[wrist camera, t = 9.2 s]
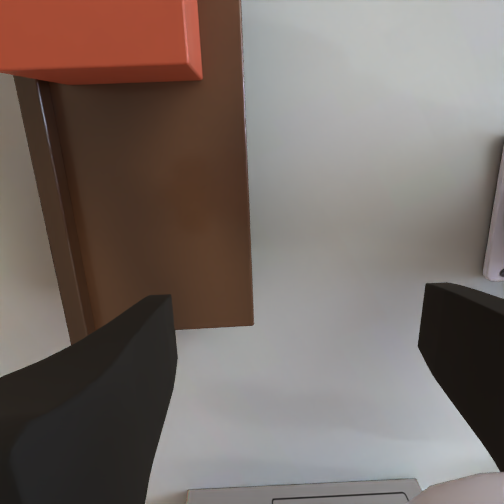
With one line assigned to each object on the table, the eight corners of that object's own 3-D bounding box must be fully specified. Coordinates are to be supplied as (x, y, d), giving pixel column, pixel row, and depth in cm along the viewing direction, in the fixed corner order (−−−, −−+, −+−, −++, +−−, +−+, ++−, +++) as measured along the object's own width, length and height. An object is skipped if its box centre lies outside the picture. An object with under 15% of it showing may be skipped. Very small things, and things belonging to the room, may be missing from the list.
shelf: (230, -174, 16) (230, -299, 11) (250, 290, 22) (255, 337, 17) (24, -171, 15) (-69, -298, 11) (105, 298, 22) (71, 348, 17)
